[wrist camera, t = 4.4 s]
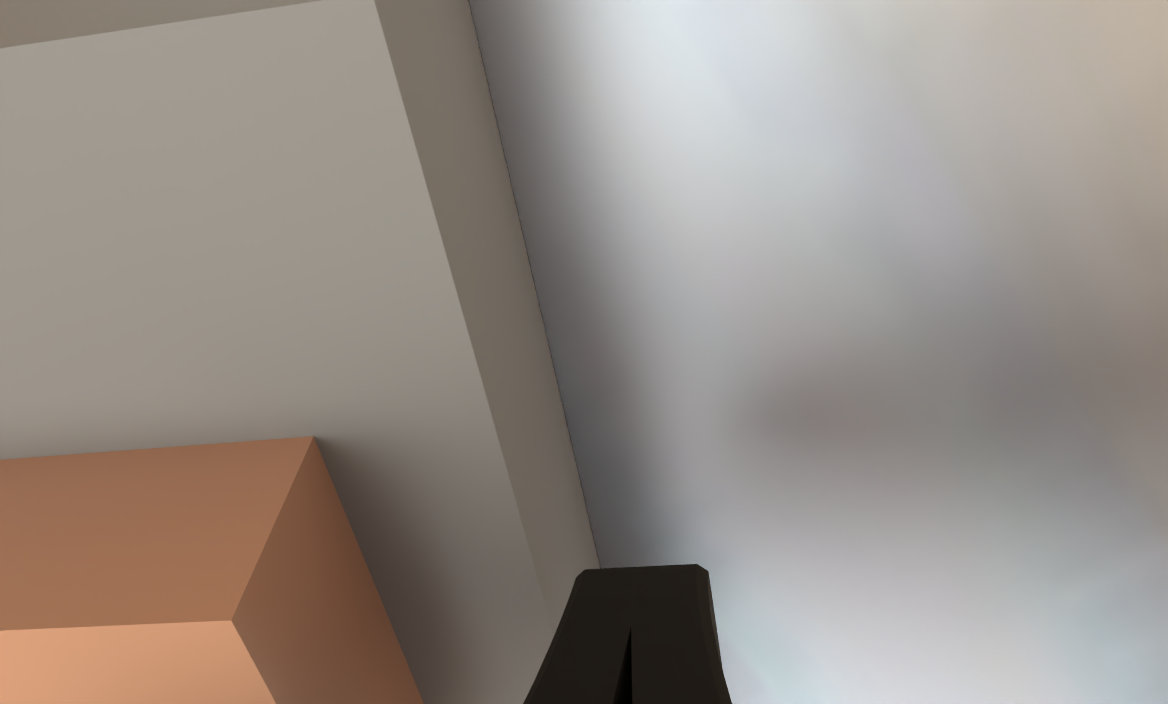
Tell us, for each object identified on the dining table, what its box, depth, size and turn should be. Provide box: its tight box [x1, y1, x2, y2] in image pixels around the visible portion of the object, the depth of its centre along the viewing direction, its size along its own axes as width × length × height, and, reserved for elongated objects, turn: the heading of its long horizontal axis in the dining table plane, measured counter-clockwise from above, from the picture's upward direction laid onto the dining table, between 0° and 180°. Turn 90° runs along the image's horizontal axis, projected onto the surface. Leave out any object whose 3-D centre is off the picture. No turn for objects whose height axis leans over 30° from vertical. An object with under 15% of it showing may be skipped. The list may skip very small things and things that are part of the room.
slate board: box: [0, 0, 600, 704], centre depth 15 cm, size 14×14×3 cm
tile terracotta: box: [0, 436, 424, 704], centre depth 12 cm, size 5×5×2 cm
